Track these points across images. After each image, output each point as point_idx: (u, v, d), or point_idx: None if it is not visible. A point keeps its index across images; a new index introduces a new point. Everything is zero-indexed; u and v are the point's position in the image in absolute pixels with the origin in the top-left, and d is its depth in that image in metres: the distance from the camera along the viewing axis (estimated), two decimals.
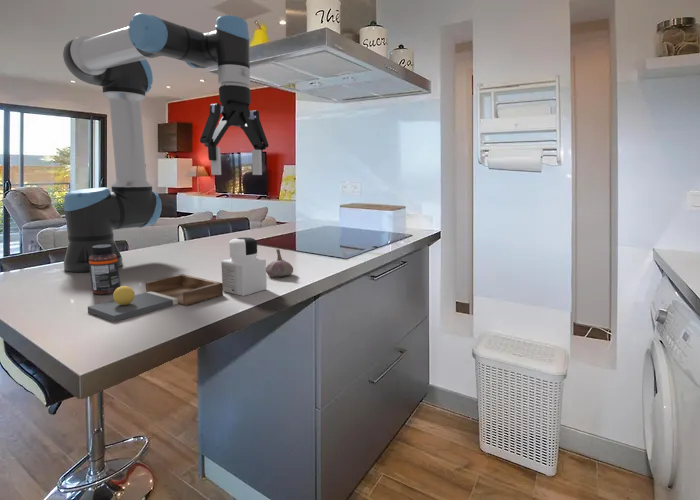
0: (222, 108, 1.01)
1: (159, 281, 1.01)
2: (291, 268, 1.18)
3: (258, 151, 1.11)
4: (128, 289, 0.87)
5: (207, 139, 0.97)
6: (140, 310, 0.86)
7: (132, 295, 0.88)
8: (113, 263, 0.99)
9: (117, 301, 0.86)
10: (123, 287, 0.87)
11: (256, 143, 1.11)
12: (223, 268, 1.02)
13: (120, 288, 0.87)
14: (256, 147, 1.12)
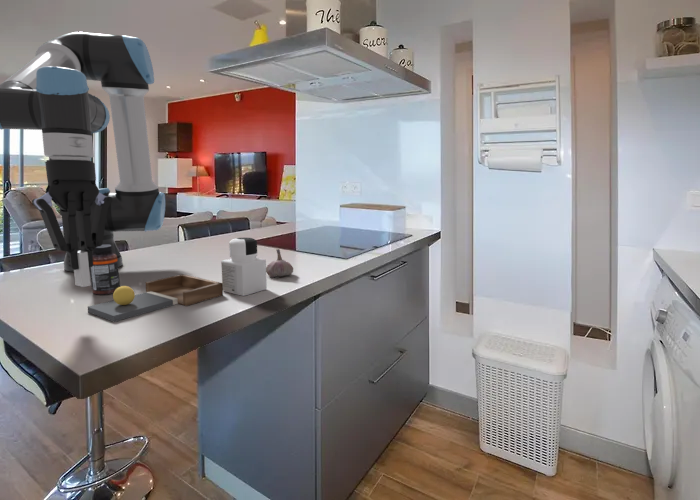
0: (49, 196, 0.74)
1: (159, 281, 1.01)
2: (291, 268, 1.18)
3: (82, 254, 0.79)
4: (128, 289, 0.87)
5: (61, 248, 0.76)
6: (140, 310, 0.86)
7: (132, 295, 0.88)
8: (113, 263, 0.99)
9: (117, 301, 0.86)
10: (123, 287, 0.87)
11: (84, 239, 0.79)
12: (223, 268, 1.02)
13: (120, 288, 0.87)
14: (82, 247, 0.80)
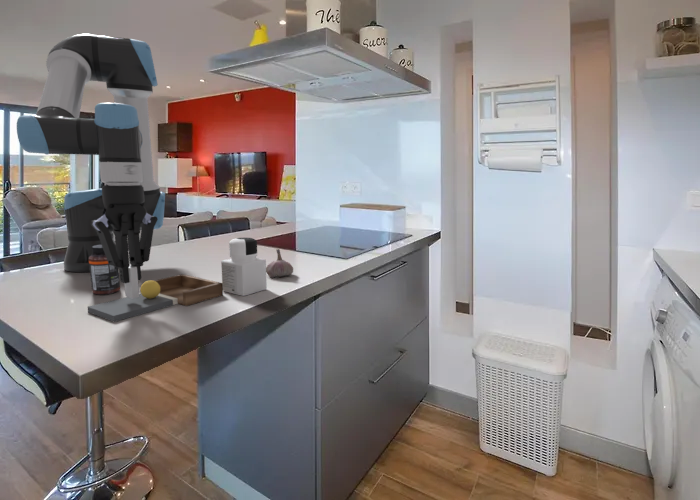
0: (105, 218, 0.83)
1: (159, 281, 1.01)
2: (291, 268, 1.18)
3: (132, 269, 0.88)
4: (154, 296, 0.92)
5: (115, 264, 0.85)
6: (140, 310, 0.86)
7: (152, 292, 0.91)
8: None
9: (157, 283, 0.93)
10: None
11: (133, 255, 0.88)
12: (223, 268, 1.02)
13: None
14: (131, 262, 0.89)
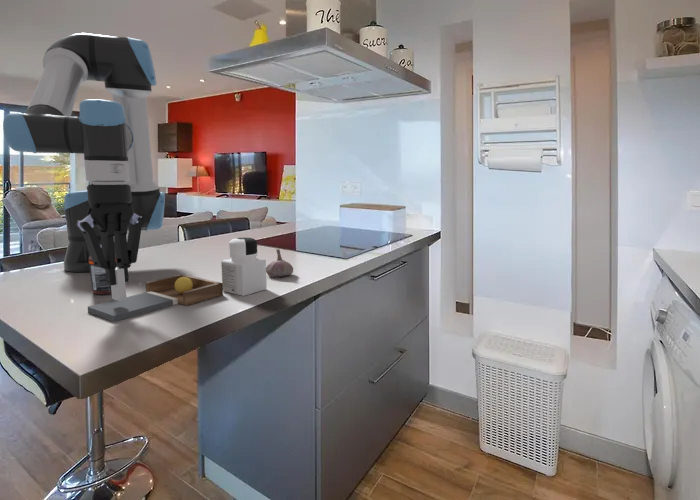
0: (91, 218, 0.80)
1: (159, 281, 1.01)
2: (291, 268, 1.18)
3: (119, 271, 0.85)
4: None
5: (101, 266, 0.82)
6: (140, 310, 0.86)
7: (190, 288, 0.99)
8: None
9: (179, 283, 0.98)
10: (189, 279, 1.00)
11: (120, 256, 0.86)
12: (223, 268, 1.02)
13: None
14: (118, 264, 0.87)
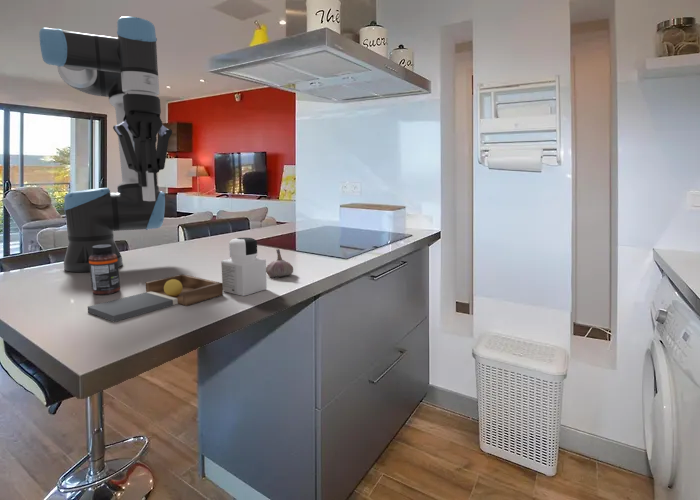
0: (126, 124, 0.92)
1: (159, 281, 1.01)
2: (291, 268, 1.18)
3: (149, 174, 0.97)
4: (175, 282, 0.96)
5: (134, 167, 0.94)
6: (140, 310, 0.86)
7: (180, 286, 0.97)
8: (113, 264, 0.99)
9: (170, 295, 0.96)
10: (170, 282, 0.96)
11: (150, 162, 0.98)
12: (223, 268, 1.02)
13: (168, 284, 0.96)
14: (149, 169, 0.99)
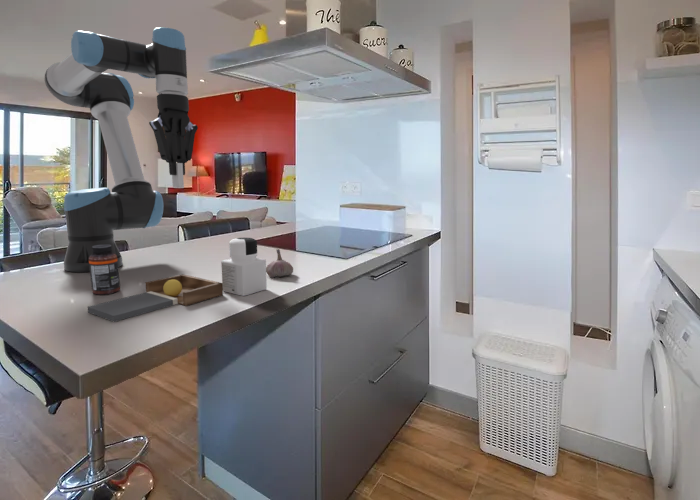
0: (160, 120, 1.06)
1: (159, 281, 1.01)
2: (291, 268, 1.18)
3: (179, 164, 1.11)
4: (174, 283, 0.96)
5: (167, 157, 1.08)
6: (140, 310, 0.86)
7: (180, 286, 0.97)
8: (113, 263, 0.99)
9: (170, 295, 0.96)
10: (169, 282, 0.96)
11: (180, 153, 1.11)
12: (223, 268, 1.02)
13: (167, 284, 0.96)
14: (178, 160, 1.12)
